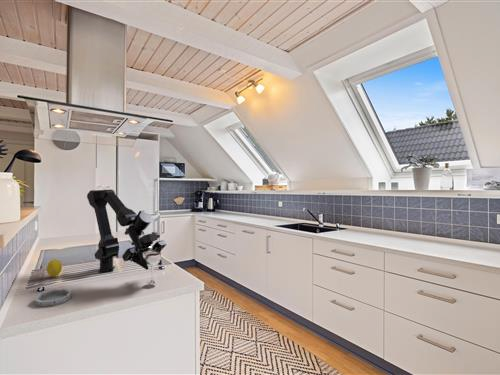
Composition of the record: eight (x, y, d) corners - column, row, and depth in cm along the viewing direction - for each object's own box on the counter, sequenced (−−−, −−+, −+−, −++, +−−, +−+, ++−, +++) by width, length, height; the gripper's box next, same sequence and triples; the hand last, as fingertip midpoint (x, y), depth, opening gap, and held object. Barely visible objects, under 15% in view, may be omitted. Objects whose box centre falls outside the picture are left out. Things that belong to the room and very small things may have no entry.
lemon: (51, 274, 128) (51, 257, 127) (64, 274, 128) (64, 257, 128) (43, 279, 122) (43, 261, 122) (57, 279, 123) (57, 261, 122)
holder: (42, 295, 107) (42, 290, 107) (75, 292, 110) (75, 287, 110) (28, 308, 97) (28, 303, 97) (65, 305, 100) (65, 300, 100)
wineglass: (140, 284, 116) (141, 255, 115) (147, 278, 122) (147, 251, 122) (156, 285, 115) (157, 256, 115) (162, 279, 122) (163, 251, 121)
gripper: (127, 228, 112) (144, 262, 107) (164, 222, 128) (181, 251, 122) (114, 245, 116) (131, 277, 111) (152, 237, 132) (168, 265, 127)
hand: (154, 266), depth 118 cm, fingers closed on wineglass, 6 cm apart
